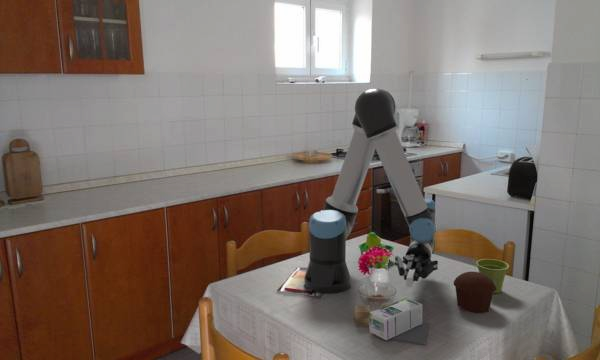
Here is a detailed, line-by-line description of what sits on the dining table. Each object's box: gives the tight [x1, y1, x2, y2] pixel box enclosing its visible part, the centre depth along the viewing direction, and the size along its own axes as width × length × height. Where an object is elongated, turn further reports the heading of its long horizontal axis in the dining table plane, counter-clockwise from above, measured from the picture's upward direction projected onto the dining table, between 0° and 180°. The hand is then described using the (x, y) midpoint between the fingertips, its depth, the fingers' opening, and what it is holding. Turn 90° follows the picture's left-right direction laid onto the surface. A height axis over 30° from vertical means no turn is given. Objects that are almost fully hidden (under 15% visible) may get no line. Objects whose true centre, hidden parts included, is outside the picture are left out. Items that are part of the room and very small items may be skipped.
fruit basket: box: [358, 231, 395, 261], centre depth 179 cm, size 11×9×11 cm
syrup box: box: [368, 297, 424, 341], centre depth 127 cm, size 6×6×14 cm
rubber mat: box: [376, 320, 430, 346], centre depth 127 cm, size 12×12×1 cm
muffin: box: [453, 271, 496, 314], centre depth 140 cm, size 12×11×10 cm
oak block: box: [353, 305, 372, 327], centre depth 131 cm, size 4×4×4 cm
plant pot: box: [476, 258, 510, 294], centre depth 151 cm, size 9×9×9 cm
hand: (409, 282), depth 131 cm, fingers closed
